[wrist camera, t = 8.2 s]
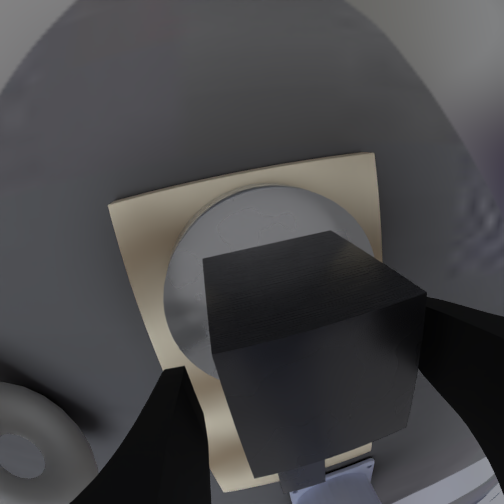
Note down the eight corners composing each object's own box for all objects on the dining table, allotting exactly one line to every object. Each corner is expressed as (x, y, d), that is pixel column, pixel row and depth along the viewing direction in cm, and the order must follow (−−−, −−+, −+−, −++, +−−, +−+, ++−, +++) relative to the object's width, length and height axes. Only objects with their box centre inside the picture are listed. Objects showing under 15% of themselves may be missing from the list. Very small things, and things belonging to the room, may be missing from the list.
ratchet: (354, 454, 21) (376, 496, 16) (241, 486, 20) (251, 533, 15) (347, 167, 14) (406, 176, 10) (143, 208, 13) (120, 235, 9)
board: (364, 441, 22) (370, 450, 21) (222, 481, 21) (223, 492, 20) (361, 152, 15) (374, 153, 14) (114, 201, 14) (107, 205, 12)
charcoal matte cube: (338, 336, 14) (406, 426, 8) (230, 365, 13) (254, 478, 8) (330, 230, 12) (426, 292, 7) (202, 258, 12) (211, 354, 6)
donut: (-20, 377, 15) (-78, 476, 5) (-16, 345, 14) (-90, 451, 5) (100, 445, 18) (83, 564, 9) (115, 421, 17) (97, 556, 8)
